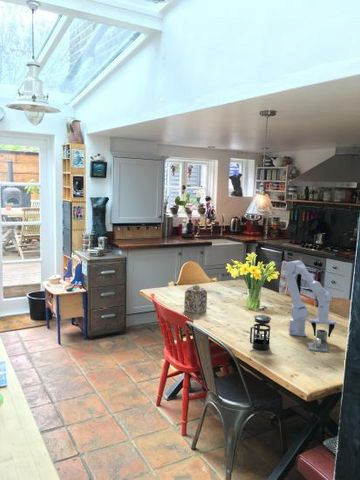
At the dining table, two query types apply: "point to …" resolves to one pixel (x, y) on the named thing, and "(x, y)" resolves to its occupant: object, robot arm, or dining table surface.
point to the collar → (322, 335)
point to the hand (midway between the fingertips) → (321, 336)
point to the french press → (261, 339)
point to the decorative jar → (195, 300)
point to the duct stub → (318, 346)
